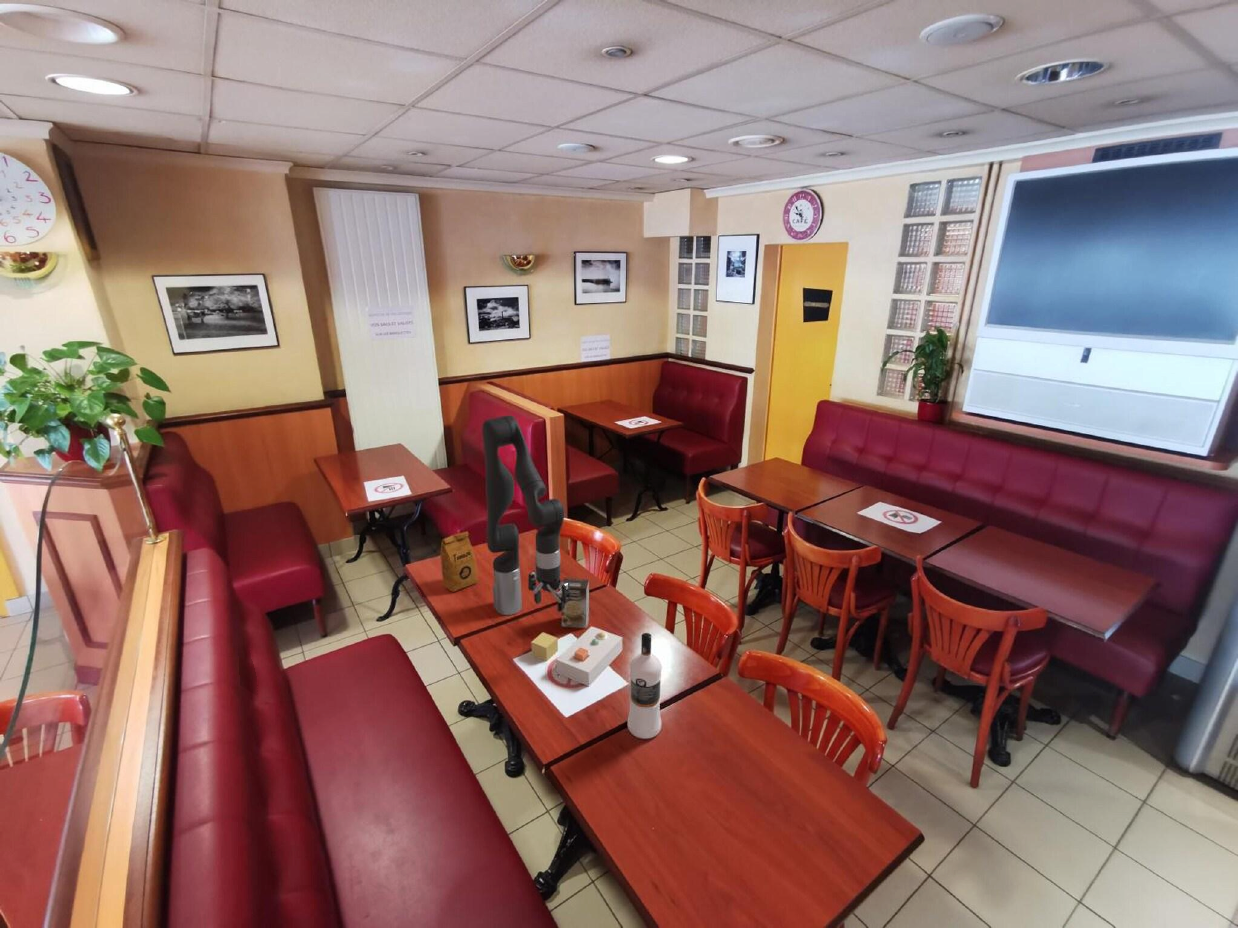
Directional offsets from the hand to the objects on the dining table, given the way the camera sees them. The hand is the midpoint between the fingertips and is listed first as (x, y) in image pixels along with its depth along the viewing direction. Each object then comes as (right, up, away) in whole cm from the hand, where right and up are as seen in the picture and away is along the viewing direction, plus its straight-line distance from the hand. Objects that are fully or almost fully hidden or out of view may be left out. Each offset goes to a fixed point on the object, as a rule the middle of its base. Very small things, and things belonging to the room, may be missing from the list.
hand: (549, 606), depth 184 cm
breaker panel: (+13, -18, +3) cm, 22 cm away
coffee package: (-40, -3, +46) cm, 61 cm away
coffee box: (+7, -11, +23) cm, 26 cm away
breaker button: (+10, -18, -2) cm, 21 cm away
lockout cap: (-2, -17, +7) cm, 18 cm away
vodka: (+29, -28, -24) cm, 46 cm away
